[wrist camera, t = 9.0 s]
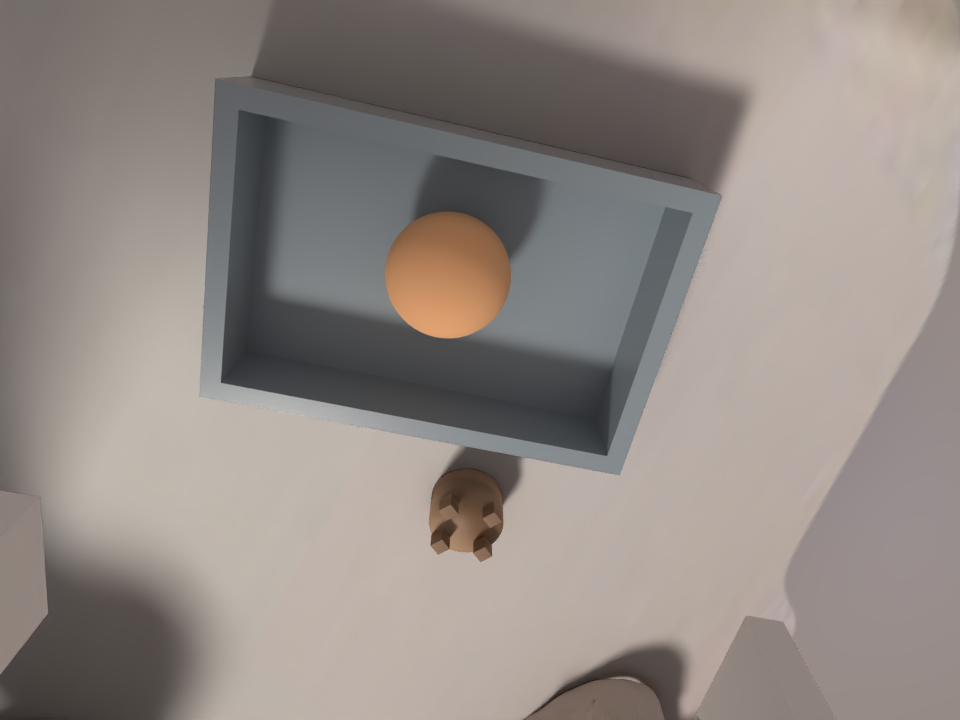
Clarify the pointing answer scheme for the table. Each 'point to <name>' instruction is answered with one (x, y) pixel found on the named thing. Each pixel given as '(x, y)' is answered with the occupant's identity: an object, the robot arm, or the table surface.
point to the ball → (447, 274)
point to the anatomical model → (604, 702)
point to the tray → (363, 294)
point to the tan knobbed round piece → (466, 513)
